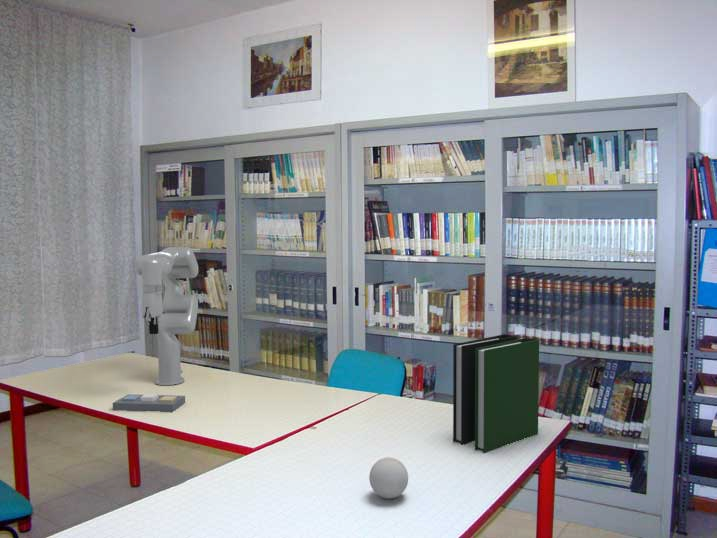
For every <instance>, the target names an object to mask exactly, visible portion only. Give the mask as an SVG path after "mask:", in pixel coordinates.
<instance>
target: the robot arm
mask: <svg viewBox="0 0 717 538" xmlns="http://www.w3.org/2000/svg"><path fill="white" fill-rule="evenodd" d="M134 269H135V273H136V274H137V275H139V276H142V279H141V280H142V281H141V282H142V298H141V299H142V300H141V317H142V318H143V319H145V321H146V322H148V330H149V331H148V332H149V333H148V334H149V335H156V336H157V351H158V352H157V353H158V355H157V358H158V378H157V379H156V380H155V384H156V385H157V384H158V386H176V385H180V384H183V383H184V382H185V377H183V376H182V373H183V371H184V370H183V369H181V368H182V365H181V344H180V343H181V342H180V341H179V338H177V337H176V335H190V334H193V333H195V332H194V331H195V330H196V324H197V317H198V310H199V302H198V298H197V297H196V296H195V295H194V294H184V292H185V288H184V286H183V285H182V284H181V283H180V282H179V281H178V280H177V279H195V278H197V276H198V274H199V264H198V261H197V259H196V254H195V253H194V251H193V250H192V248H190V247H188V246H169V247H165V248H164V249H163V250H161V251H156V252H153V253H148V254H143V255H141V256H139V257H137V259H136V260H135V263H134ZM163 286H164V294H163V295H164V296H163V295H162V293H163ZM182 382H183V383H182ZM175 384H176V385H175Z"/></svg>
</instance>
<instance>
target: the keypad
mask: <svg viewBox="0 0 717 538" xmlns="http://www.w3.org/2000/svg"><path fill="white" fill-rule="evenodd" d="M128 395H134V394H133V393H132V394H131V393H130V394H126V395H124V396H123V397H121V398H119V399H117V400H115V401H114V402H112V411H113V410H127V411H126V412H145V411H160V412H159V413H174V412H175V411H177V410H178V409H180V408H181V407H182V406H183V405H185V404H186V395H176V396H177V399H176V400H174V401H173V402H159V399H161V398H162V397H164V396H175V395H174V394H173V395H166V394H164V395H163V394H158V396H159V398H158V399H157V400H155V401H153V402H150V401H141V400H140V398H139V399H138V400H136V401H122V399H123V398H124V397H126V396H128ZM139 395H140V397H142V396H143V395H144V394H139ZM184 403H185V404H184ZM180 406H181V407H180ZM176 409H177V410H176ZM173 411H174V412H173Z"/></svg>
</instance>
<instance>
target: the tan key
mask: <svg viewBox="0 0 717 538" xmlns="http://www.w3.org/2000/svg"><path fill="white" fill-rule="evenodd" d="M177 396H178V395H174V396H164V397H162V398H161V399H159V402H173V401H174V400H176V399H177Z"/></svg>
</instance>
